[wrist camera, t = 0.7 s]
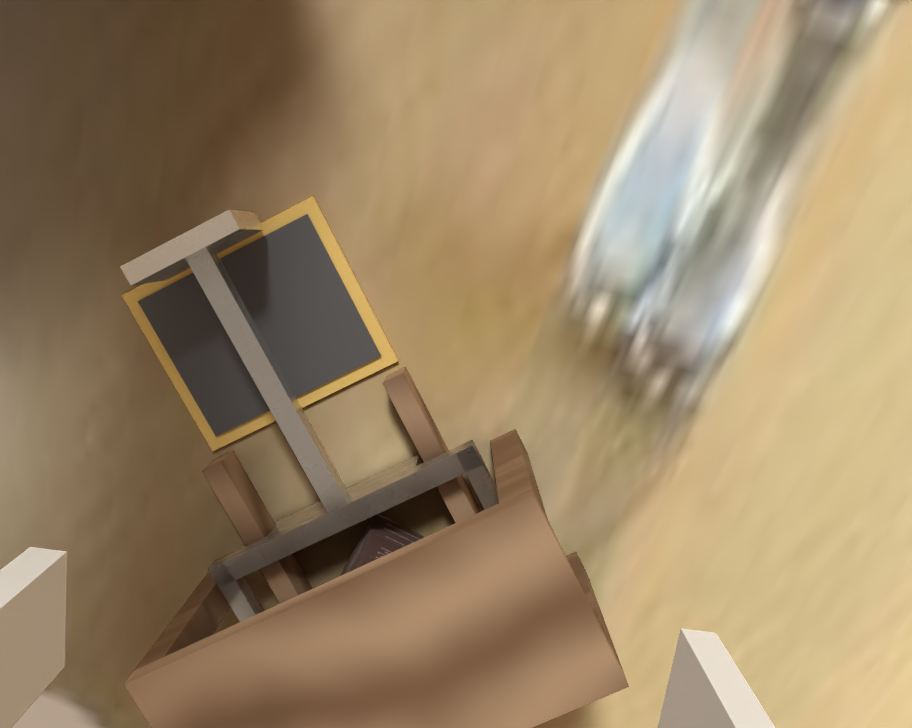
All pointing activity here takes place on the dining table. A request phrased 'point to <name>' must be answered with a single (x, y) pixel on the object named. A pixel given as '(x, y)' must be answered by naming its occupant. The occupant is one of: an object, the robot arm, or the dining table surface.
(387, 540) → the box
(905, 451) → the dining table surface
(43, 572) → the robot arm
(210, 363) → the mat
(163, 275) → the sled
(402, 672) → the tunnel
